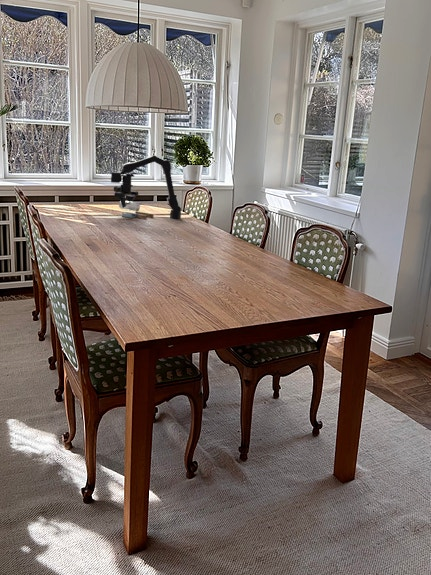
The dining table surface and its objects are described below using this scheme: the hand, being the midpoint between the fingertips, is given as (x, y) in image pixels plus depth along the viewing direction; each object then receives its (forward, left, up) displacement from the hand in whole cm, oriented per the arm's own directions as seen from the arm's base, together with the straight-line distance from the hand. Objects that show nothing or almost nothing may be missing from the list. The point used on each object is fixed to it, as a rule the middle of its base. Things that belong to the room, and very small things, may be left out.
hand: (126, 207), depth 347 cm
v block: (-3, 0, -7) cm, 7 cm away
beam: (-3, -7, -7) cm, 10 cm away
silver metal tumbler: (-3, 0, -1) cm, 3 cm away
